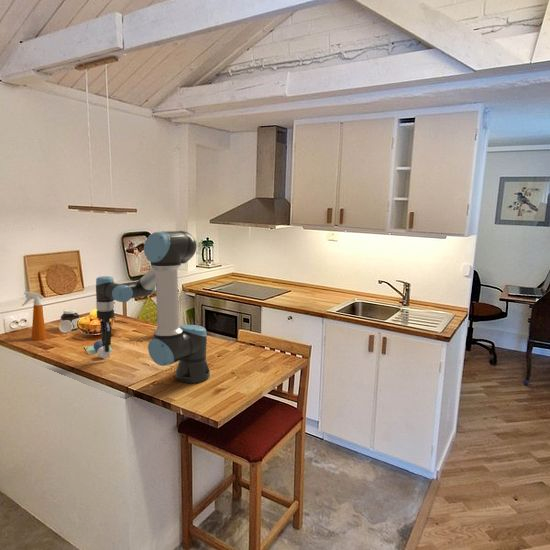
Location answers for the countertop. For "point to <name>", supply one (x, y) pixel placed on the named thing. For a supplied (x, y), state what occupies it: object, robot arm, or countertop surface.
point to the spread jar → (69, 320)
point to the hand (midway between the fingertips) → (106, 357)
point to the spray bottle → (37, 316)
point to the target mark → (92, 350)
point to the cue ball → (100, 352)
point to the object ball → (97, 345)
